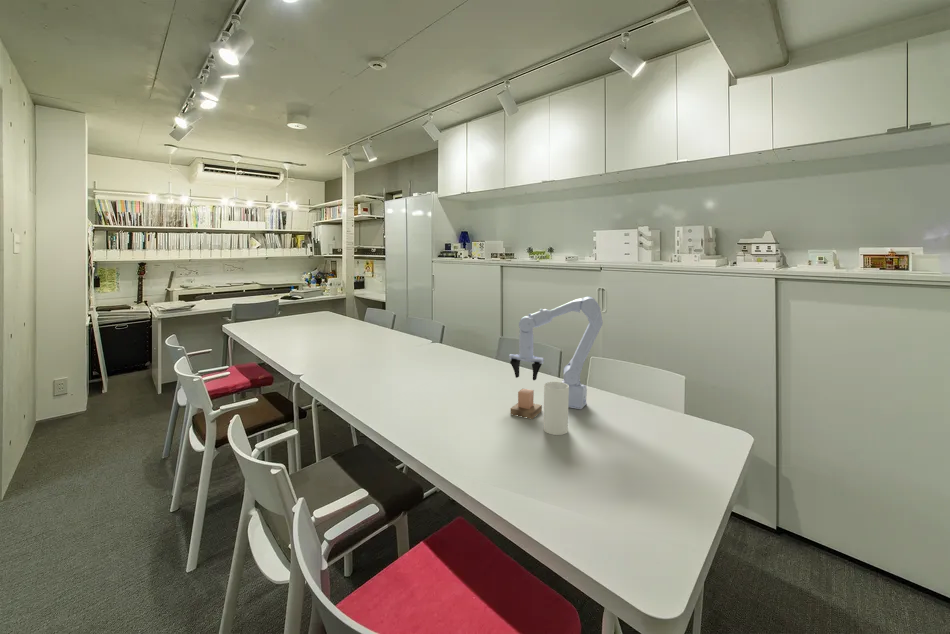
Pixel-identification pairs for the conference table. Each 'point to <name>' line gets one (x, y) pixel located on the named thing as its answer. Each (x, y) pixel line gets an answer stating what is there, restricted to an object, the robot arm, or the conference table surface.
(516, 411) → the base slab
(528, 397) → the block
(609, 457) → the conference table surface
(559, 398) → the cup
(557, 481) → the conference table surface
